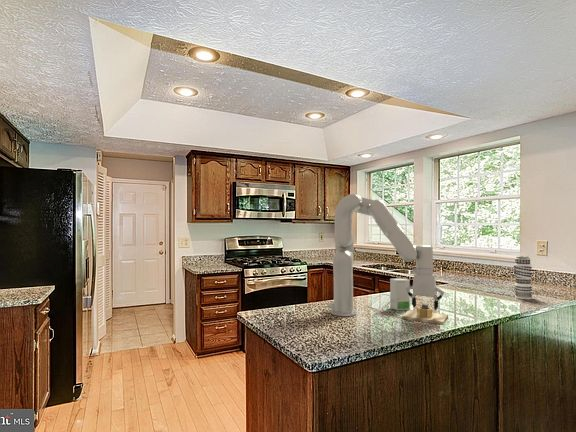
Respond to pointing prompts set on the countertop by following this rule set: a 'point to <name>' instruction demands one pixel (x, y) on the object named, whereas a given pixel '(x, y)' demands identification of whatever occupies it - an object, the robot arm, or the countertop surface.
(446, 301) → the countertop surface
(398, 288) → the skincare box
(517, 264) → the decorative candle
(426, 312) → the ring
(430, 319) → the beige flat block
